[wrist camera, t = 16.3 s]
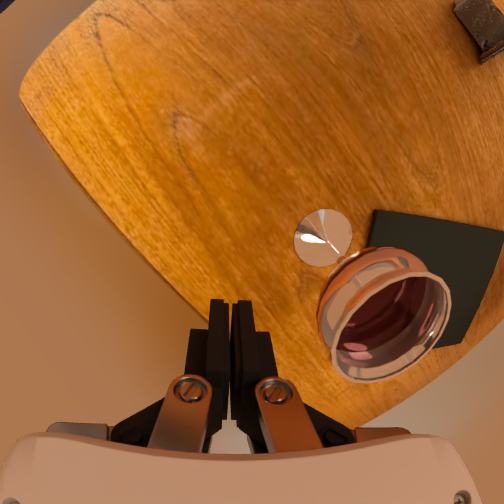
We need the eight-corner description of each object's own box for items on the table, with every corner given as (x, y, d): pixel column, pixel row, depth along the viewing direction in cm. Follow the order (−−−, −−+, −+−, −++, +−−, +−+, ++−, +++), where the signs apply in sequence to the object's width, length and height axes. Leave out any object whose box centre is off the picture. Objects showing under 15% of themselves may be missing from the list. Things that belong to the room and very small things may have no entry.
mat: (332, 357, 28) (333, 361, 28) (374, 208, 22) (377, 210, 21) (458, 340, 31) (460, 343, 30) (503, 231, 24) (506, 233, 24)
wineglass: (272, 269, 23) (308, 385, 13) (295, 188, 21) (366, 257, 10) (346, 281, 25) (411, 380, 14) (372, 208, 22) (471, 279, 11)
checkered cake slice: (488, -8, 12) (495, -40, 5) (525, 40, 13) (550, 26, 6) (440, 22, 20) (431, -1, 13) (476, 68, 20) (484, 63, 13)
